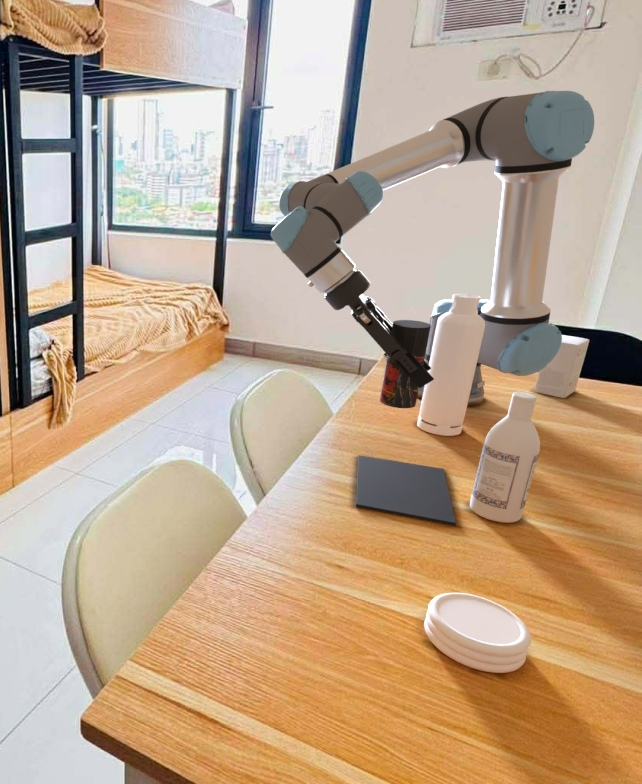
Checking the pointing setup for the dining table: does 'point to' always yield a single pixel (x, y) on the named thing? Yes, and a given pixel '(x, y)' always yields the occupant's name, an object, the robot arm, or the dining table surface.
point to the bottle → (452, 366)
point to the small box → (563, 368)
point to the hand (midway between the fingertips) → (425, 377)
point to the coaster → (477, 632)
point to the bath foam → (507, 463)
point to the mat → (404, 489)
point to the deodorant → (396, 382)
